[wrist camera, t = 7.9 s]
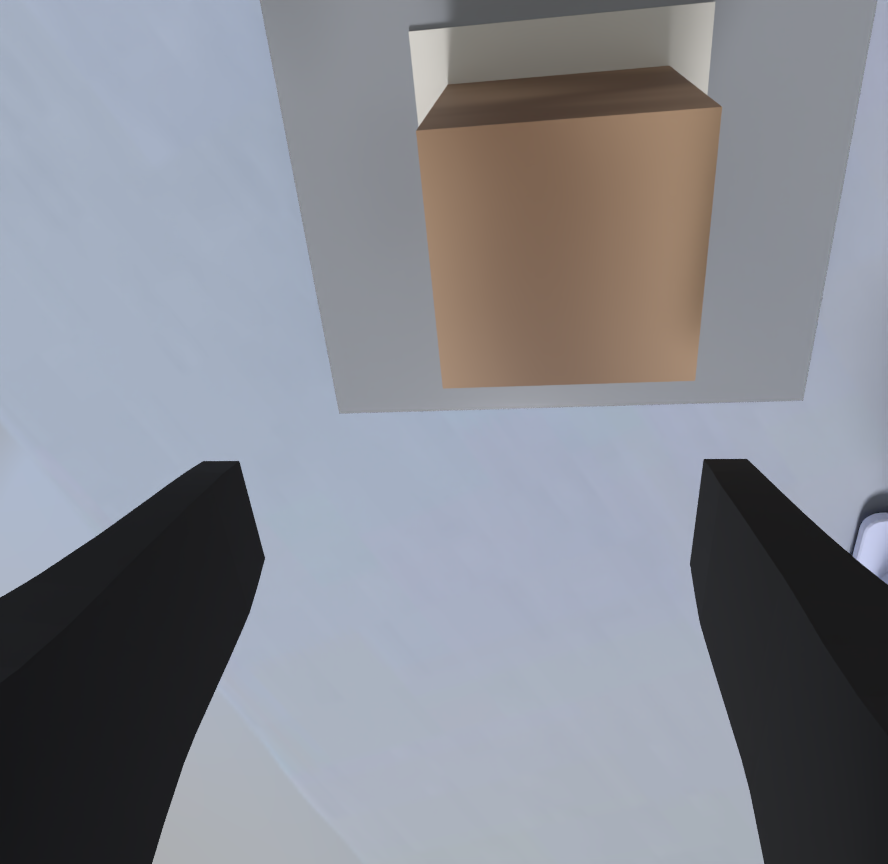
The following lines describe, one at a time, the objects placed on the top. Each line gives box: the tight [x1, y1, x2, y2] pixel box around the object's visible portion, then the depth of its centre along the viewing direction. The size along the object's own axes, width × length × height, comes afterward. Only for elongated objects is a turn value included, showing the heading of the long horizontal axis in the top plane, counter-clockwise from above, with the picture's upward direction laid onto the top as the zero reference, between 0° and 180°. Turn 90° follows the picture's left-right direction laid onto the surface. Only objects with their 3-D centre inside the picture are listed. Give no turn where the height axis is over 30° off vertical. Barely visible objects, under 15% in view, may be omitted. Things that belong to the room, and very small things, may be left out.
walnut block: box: [416, 66, 722, 389], centre depth 14 cm, size 4×4×5 cm
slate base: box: [260, 0, 877, 414], centre depth 17 cm, size 12×12×2 cm
